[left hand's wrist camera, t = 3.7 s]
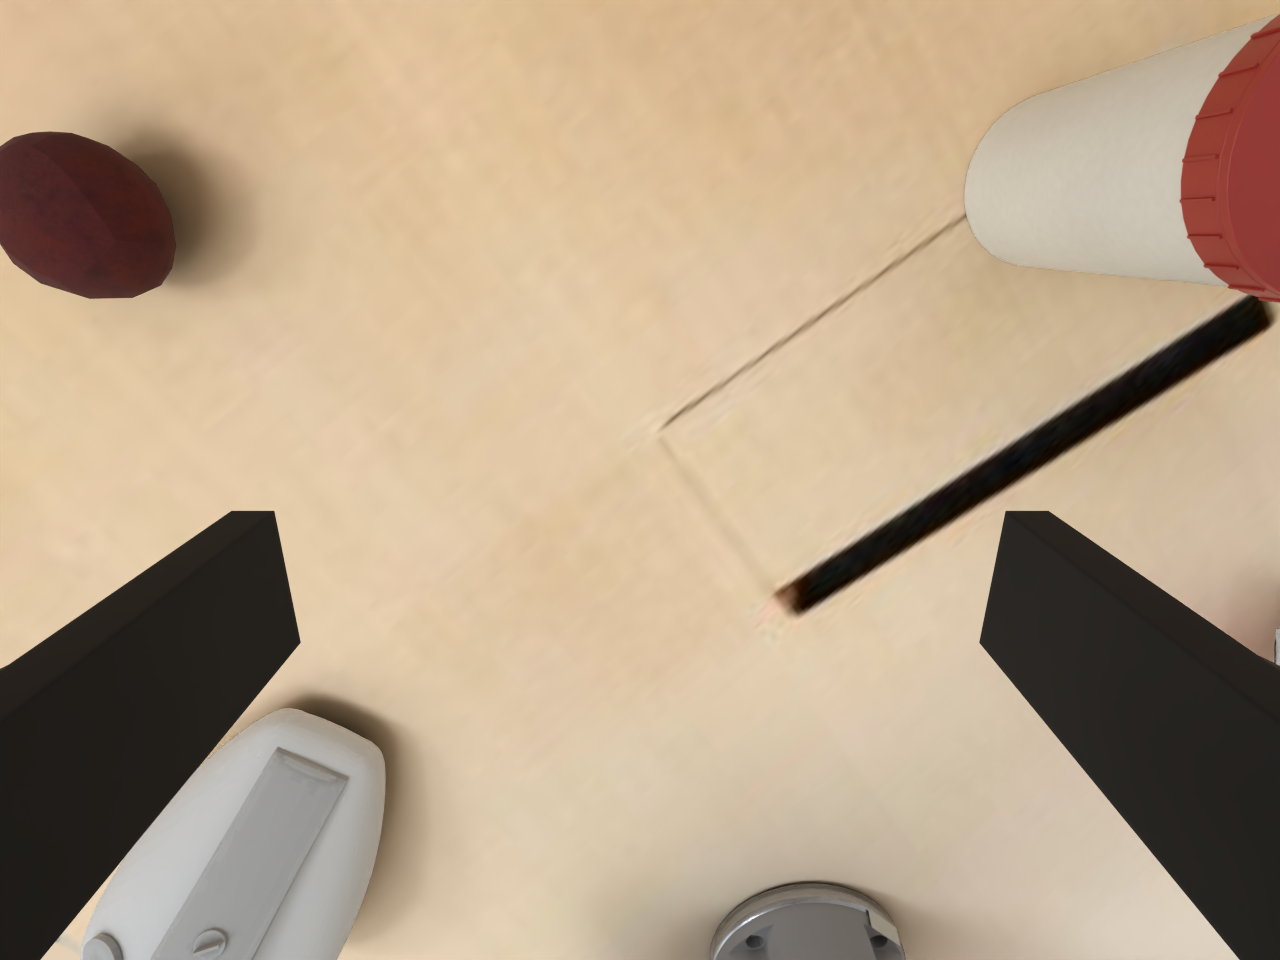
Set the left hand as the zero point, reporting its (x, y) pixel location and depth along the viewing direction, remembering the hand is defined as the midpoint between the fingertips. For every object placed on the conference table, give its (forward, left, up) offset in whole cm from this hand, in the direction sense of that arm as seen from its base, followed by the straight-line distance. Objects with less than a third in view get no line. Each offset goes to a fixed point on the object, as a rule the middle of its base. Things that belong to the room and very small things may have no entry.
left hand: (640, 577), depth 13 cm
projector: (-35, +27, -28) cm, 52 cm away
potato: (+6, +27, -28) cm, 39 cm away
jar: (+8, -21, -28) cm, 36 cm away
